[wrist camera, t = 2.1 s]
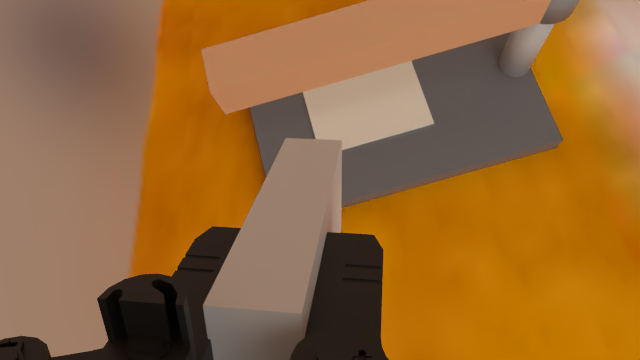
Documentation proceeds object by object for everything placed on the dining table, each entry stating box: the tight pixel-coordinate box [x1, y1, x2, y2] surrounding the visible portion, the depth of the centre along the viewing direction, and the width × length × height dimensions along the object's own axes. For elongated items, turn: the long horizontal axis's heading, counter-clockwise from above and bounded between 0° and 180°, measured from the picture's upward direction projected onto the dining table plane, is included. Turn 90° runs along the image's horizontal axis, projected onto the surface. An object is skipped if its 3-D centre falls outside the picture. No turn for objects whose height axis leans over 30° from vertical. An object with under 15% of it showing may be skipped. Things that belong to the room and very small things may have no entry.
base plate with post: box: [249, 24, 563, 208], centre depth 37 cm, size 22×14×9 cm, turn 104°
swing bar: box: [201, 0, 579, 114], centre depth 31 cm, size 23×4×3 cm, turn 104°
